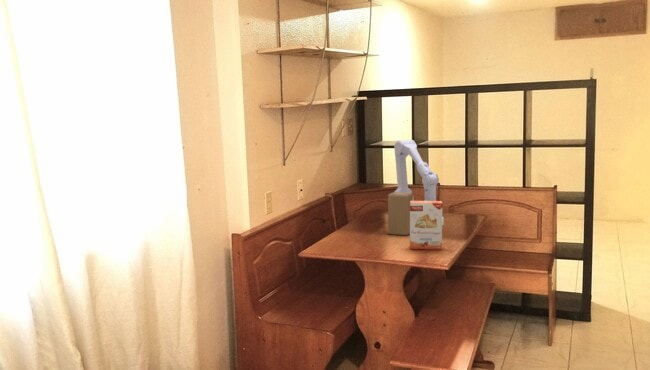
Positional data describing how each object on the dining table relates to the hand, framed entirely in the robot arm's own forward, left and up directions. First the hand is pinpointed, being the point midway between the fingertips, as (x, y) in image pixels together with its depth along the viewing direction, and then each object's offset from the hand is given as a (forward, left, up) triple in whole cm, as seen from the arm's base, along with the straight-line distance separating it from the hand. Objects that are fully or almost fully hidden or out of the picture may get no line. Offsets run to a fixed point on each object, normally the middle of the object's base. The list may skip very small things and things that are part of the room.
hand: (430, 224), depth 298 cm
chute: (0, +2, -2) cm, 3 cm away
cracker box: (+6, -39, -3) cm, 40 cm away
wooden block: (-12, -13, -3) cm, 18 cm away
